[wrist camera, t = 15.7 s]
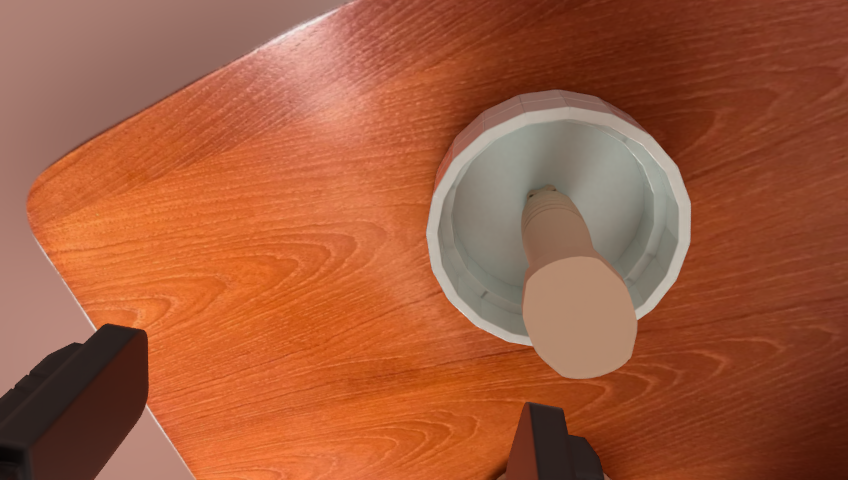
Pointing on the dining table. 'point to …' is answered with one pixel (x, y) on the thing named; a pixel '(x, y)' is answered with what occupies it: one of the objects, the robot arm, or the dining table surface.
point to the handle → (572, 292)
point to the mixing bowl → (571, 175)
